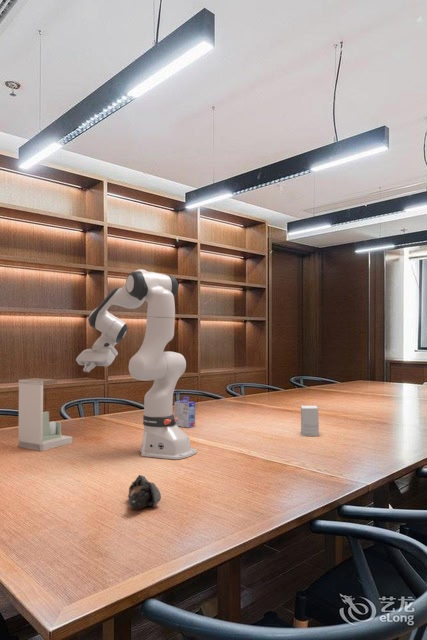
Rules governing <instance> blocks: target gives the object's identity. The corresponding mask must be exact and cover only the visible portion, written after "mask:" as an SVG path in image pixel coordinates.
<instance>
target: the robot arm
mask: <svg viewBox="0 0 427 640" xmlns="http://www.w3.org/2000/svg"><path fill="white" fill-rule="evenodd" d="M178 291H179V283H178V280H177V278H176V277H175V276H173V275H170V274H165V273H160V272H154V271H147V269H141V268H139V269H136V270H134V271H131V272H130V273H129V274H128V275H127V277H126V279H125V283H124V285H123V286H122V287H120V288H119V287H115V288H114V289H112V290H111V291H110V293H109V294H108V295H107V296H106V297H105V298H104V299H103V300H102V302H100V304H99V305H98V306H97V307H96V308H95V309H93V310H92V311H91V313H90V314H89V316H88V319H87V321H88V323H89V326H90V327H91V328H93V329H95V330H98V331H99V332H100V333H101V335H100V336H99V337H98V338H97V339H96V340H95V341H94V343H93V344H92V346H91V348H87V349H84V350H82V351H81V352H80V353H79V354H78V356H77V357H76V359H75V362H76V363H77V364H78V365H79V366H84V367H83V369H82V371H83V372H84V373H90V372H91V371H92V370H93V369H95V367H109V366H111V365H112V364H113V362H114V361H115V359H116V357H117V356H118V355H119V353H118V350H117V349H116V348H115V346H116V345H117V344H119V343H121V342H122V341H123V339H124V338H125V336H126V335H127V334H128V331H129V328H128V325H127V323H126V322H125V321H123V320H122V319H120V318H119V317H117V316H115V315H114V314H112V313H111V312H109V311H108V309H109V308H110V307H111V306H119V307H122V308H125V309H128V310H129V309H137V308H140V307H141V306H142V305H143V304H144V302H145V301H146V303H147V311H146V312H147V313H146V322H145V324H146V326H145V334H144V337H143V338H144V339H143V341H142V344H141V345H140V348H139V350H137V352H136V353H135V354H134V355H133V356H132V357H131V358H130V359H129V362H128V372H129V375H130V376H131V378H133V379H135V380H137V381H144V382H145V381H146V382H147V381H153V383H152V386H151V387H150V388H149V390H148V391H147V392H146V393H145V395H144V397H143V398H144V402H143V403H144V404H143V405H144V408H143V409H144V410H143V411H144V412H143V413H144V414H143V415H142V416H143V417H142V424H143V434H142V442H141V447H140V451H139V452H140V453H141V454H140V456H141V457H146V458H148V457H149V458H157V459H165V460H166V459H167V460H180V459H181V460H182V459H186V458H189V457H191V456H194V455H195V454H196V453H197V449H196V448H192V447H191V441H190V437H189V435H187V433H185V432H184V431H183V429H181V428H180V426H177V425H176V421H177V420H176V419H177V418H178V417H177V418H174V413H173V406H174V405H173V404H174V402H173V399H174V398H173V397H174V393H175V392H174V391H175V388H176V386H177V382H178V380H179V379H180V378H181V376H183V374H185V371H186V368H187V361H186V358H185V357H184V355H183V354H182V353H179V352H175V351H169V350H168V351H165V348H166V346H167V344H168V343H169V342H171V341H172V340H173V339H174V337H175V324H176V323H175V322H176V307H175V306H176V305H175V297H176V296H177V294H178Z"/></svg>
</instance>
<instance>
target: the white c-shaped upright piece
mask: <svg viewBox="0 0 427 640" xmlns="http://www.w3.org/2000/svg"><path fill="white" fill-rule="evenodd" d="M55 384H58V379H53V378H38V377H34V378H33V377H32V378H22V379H18V448H23V449H29V450H33V451H37V452H43V451H46V450H50V449H51V450H52V449H54V448H58V447H61V446H66V445H70V444H73V436H69V435H62V434H61V437H59V438H55V439H51V440H47V441H43V412H44V386H46V385H55Z"/></svg>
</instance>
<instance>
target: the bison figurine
mask: <svg viewBox="0 0 427 640" xmlns="http://www.w3.org/2000/svg"><path fill="white" fill-rule="evenodd" d="M127 497H128V505H129V508H130V509H132V510H141V509H144V508H146V507H151V508H156V507H157V505H158V504H159V502H160V501H161V499H162V498H161V497H162V494H161V491H160V490H159V488H158V487H157V485H156V483H155V482H151V481H149V480H148V479H147V478H146V476H145V475H141V474H138V475H137V476H136V479H135V480H134V481H132V482H131V484H130V485H129V487H128V494H127Z"/></svg>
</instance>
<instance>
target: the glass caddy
mask: <svg viewBox="0 0 427 640" xmlns="http://www.w3.org/2000/svg"><path fill="white" fill-rule="evenodd" d="M61 435H62V422H60V421H55V420H52V421H51V420H50V411H47V410H46V411H43V441H47V440H51V439H55V438H59V437H61Z"/></svg>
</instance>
